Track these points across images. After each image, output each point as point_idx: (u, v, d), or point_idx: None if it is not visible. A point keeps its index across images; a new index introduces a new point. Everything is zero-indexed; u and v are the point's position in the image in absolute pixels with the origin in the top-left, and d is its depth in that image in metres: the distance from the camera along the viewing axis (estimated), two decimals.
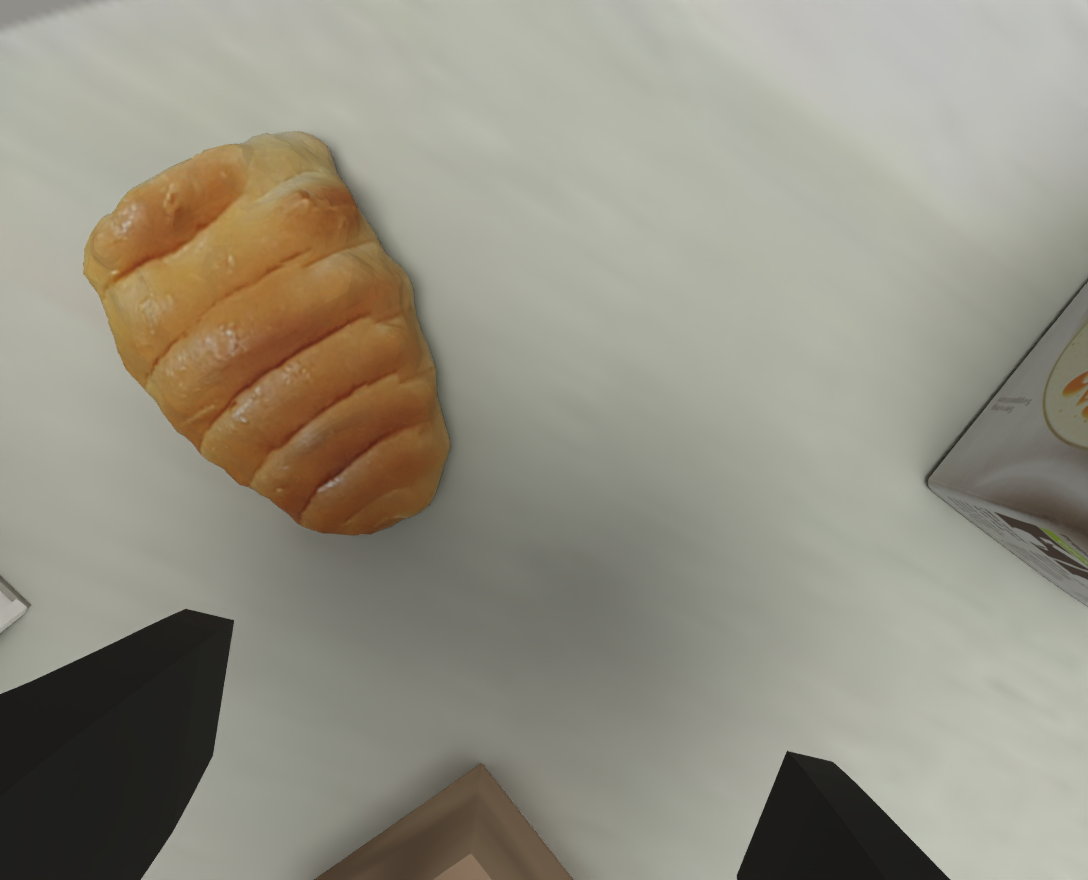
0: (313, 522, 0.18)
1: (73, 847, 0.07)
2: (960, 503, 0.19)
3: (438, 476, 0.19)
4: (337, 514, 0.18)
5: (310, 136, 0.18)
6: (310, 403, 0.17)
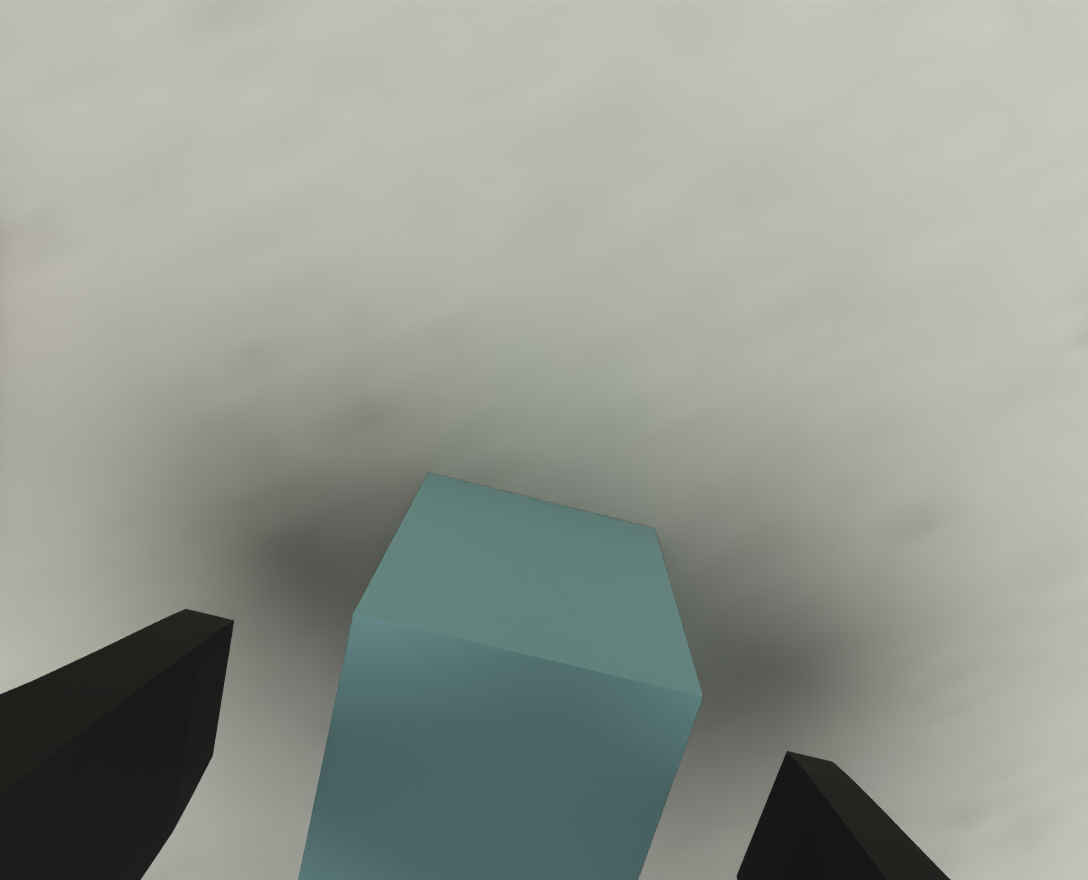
0: None
1: (73, 847, 0.07)
2: None
3: None
4: None
5: None
6: None
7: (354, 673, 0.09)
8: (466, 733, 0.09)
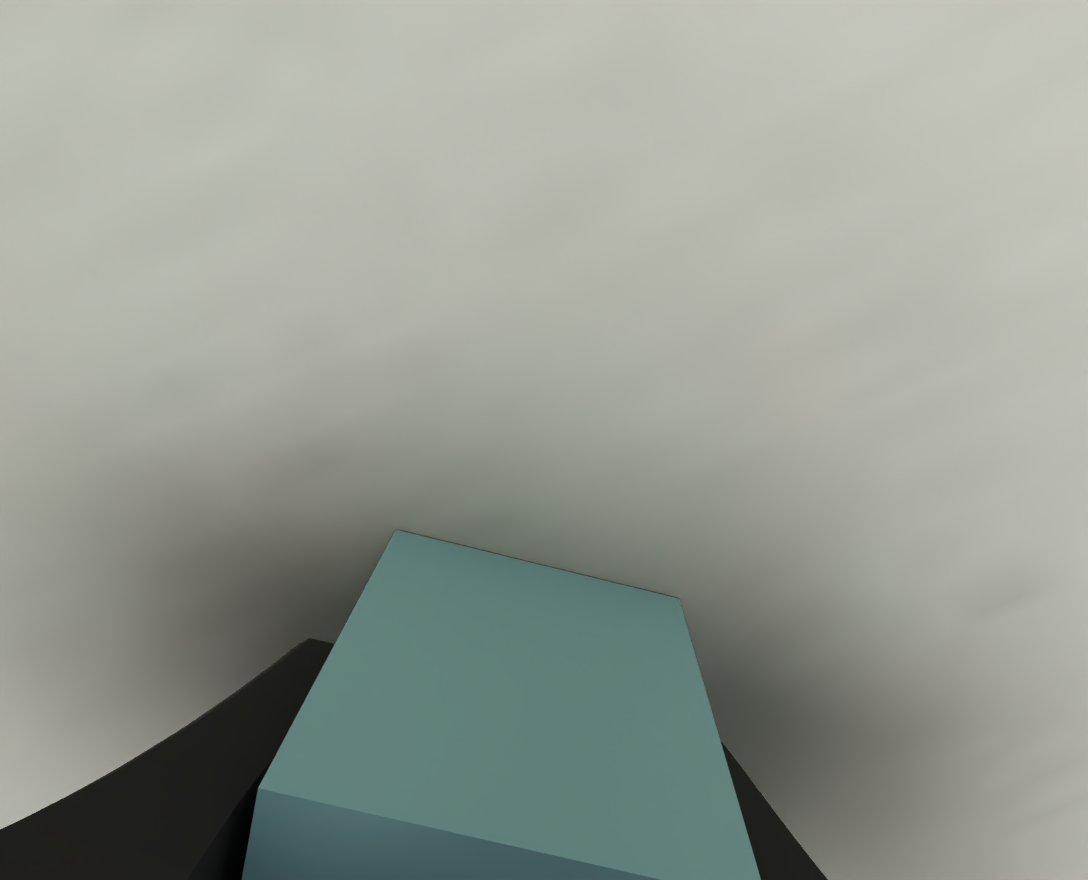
0: None
1: None
2: None
3: None
4: None
5: None
6: None
7: (263, 869, 0.06)
8: None
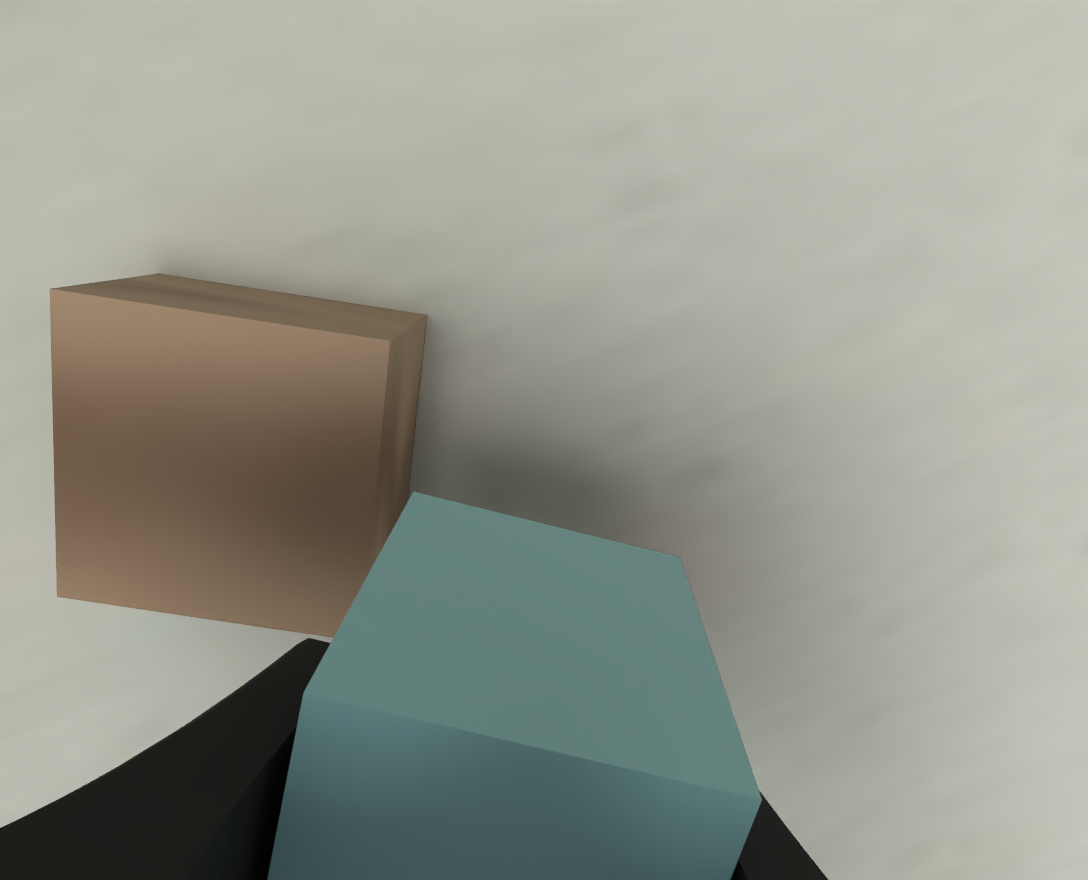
0: None
1: None
2: None
3: None
4: None
5: None
6: None
7: (306, 768, 0.07)
8: (453, 844, 0.07)
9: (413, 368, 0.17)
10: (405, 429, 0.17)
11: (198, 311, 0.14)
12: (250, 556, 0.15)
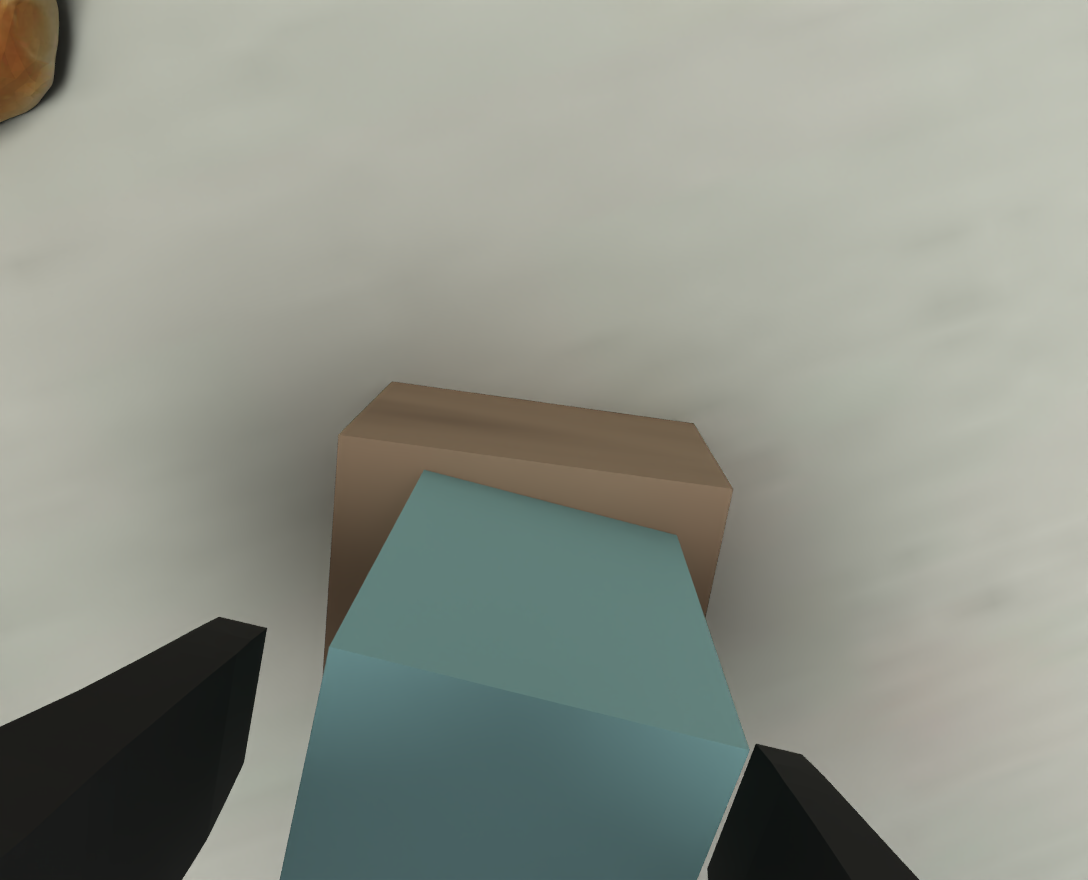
0: None
1: (118, 857, 0.07)
2: None
3: None
4: None
5: None
6: None
7: (330, 717, 0.07)
8: (464, 788, 0.08)
9: None
10: None
11: (510, 457, 0.12)
12: None
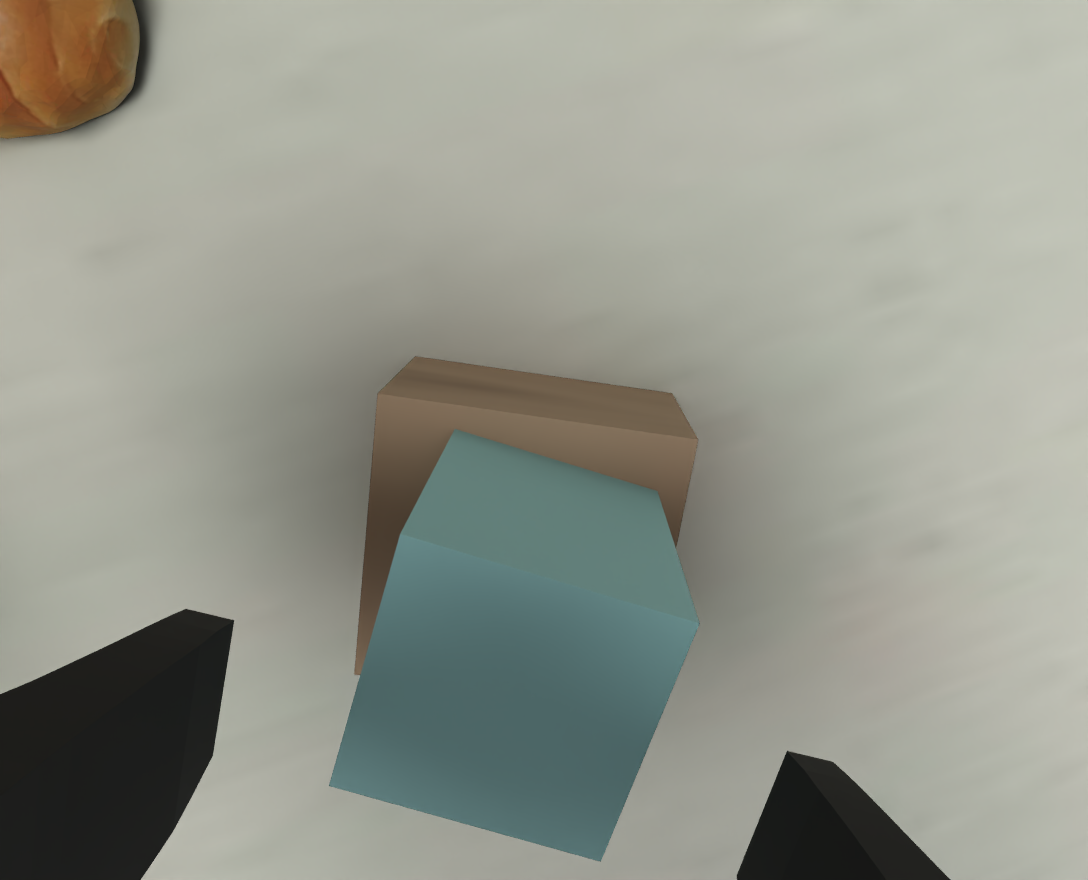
0: (35, 97, 0.15)
1: (73, 847, 0.07)
2: None
3: None
4: (39, 63, 0.15)
5: None
6: None
7: (397, 587, 0.10)
8: (491, 645, 0.10)
9: None
10: None
11: (516, 413, 0.15)
12: None
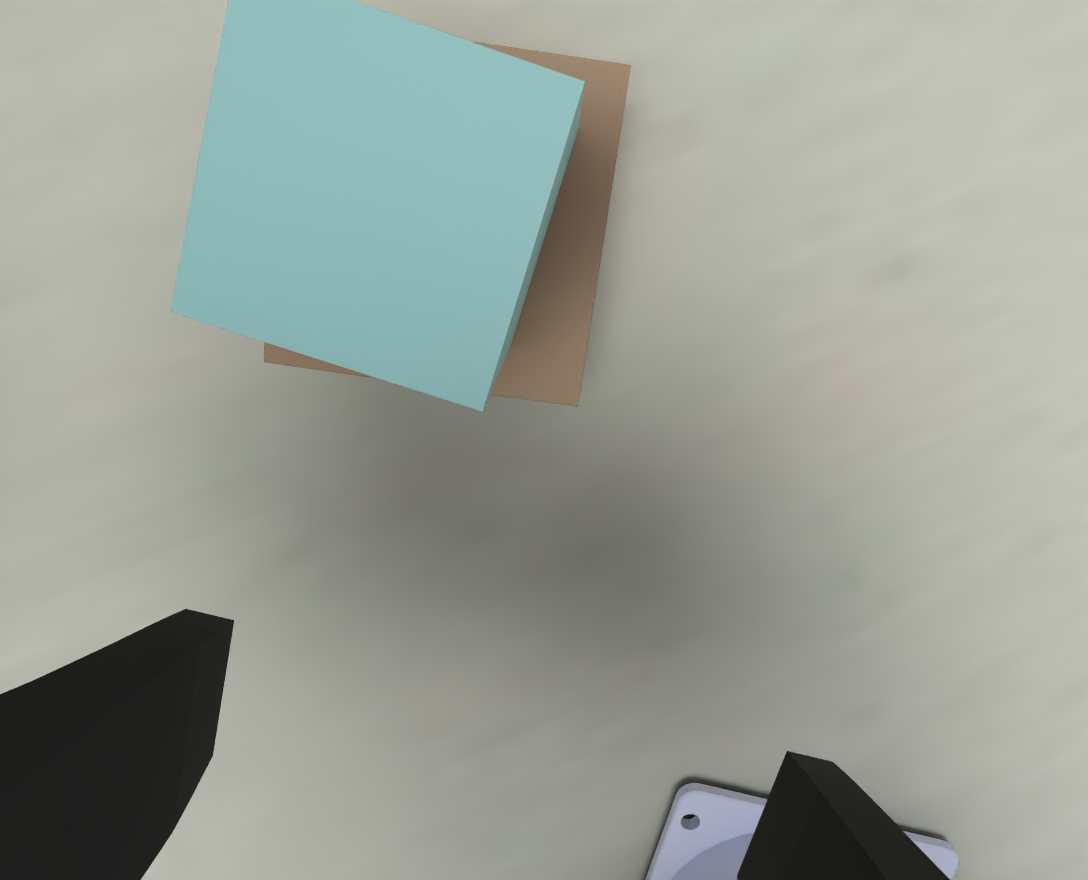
0: None
1: (73, 847, 0.07)
2: None
3: None
4: None
5: None
6: None
7: (235, 35, 0.09)
8: (347, 115, 0.09)
9: None
10: None
11: None
12: None
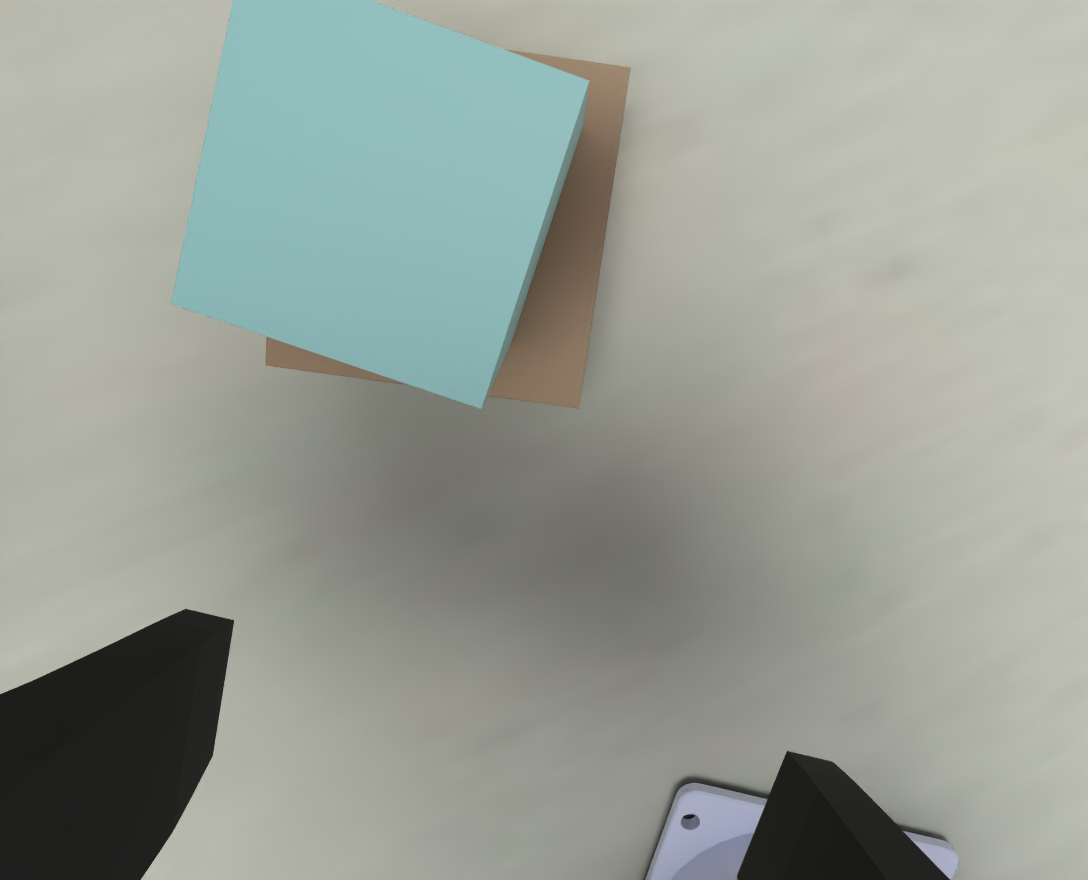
0: None
1: (73, 847, 0.07)
2: None
3: None
4: None
5: None
6: None
7: (241, 28, 0.09)
8: (350, 110, 0.09)
9: None
10: None
11: None
12: None
